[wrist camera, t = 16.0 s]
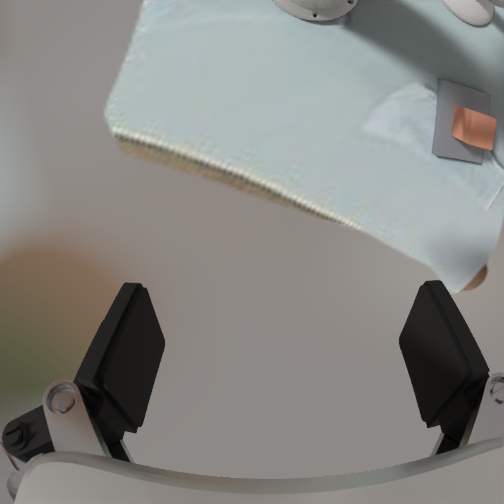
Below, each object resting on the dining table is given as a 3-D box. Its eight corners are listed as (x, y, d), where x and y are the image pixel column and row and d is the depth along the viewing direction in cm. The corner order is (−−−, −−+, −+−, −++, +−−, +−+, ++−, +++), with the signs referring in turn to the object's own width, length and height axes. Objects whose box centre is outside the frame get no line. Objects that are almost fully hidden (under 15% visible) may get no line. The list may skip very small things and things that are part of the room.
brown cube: (455, 104, 32) (473, 110, 27) (478, 112, 31) (496, 118, 27) (451, 135, 34) (469, 144, 30) (473, 141, 34) (492, 150, 30)
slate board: (438, 79, 31) (443, 79, 30) (484, 93, 31) (490, 95, 29) (431, 152, 38) (436, 155, 37) (476, 160, 37) (481, 163, 36)
